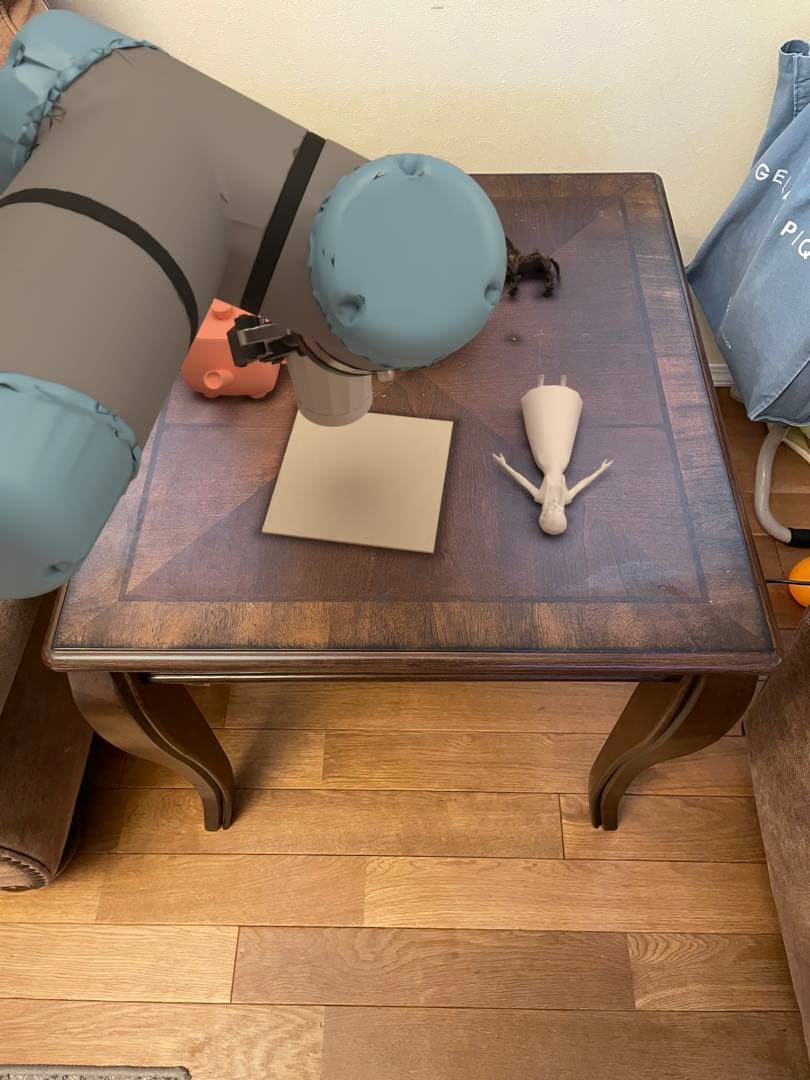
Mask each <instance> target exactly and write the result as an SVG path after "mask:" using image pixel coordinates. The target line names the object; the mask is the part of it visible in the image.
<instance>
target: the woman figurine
mask: <svg viewBox="0 0 810 1080" xmlns="http://www.w3.org/2000/svg"><path fill="white" fill-rule="evenodd" d="M544 380H545V374H542V373H541V374H538V376H537V383H536V385H537V386H536V387H534V388H532V389H529V390H528V391H527V392H526V394H524V395H523V396H522V397H521V399H520V404H521V410H522V414H523V421H524V427H525V432H526V436H527V439H528V442H529V445H530V449H531V454H532V457H533V460H534V461H535V463H536V465H537V467H538V468H539V469H540V470H541V471H542V473H543V474H544V477H543V481H542V482H541V486H540V487H539V488H538V487H536V486H534V485H533V484H532V483H531V482H530V481H529V480H528V479H526V478H525V476H523V475H521V474H520V473H519V472H516V471H515V470H514V469H513V468H512V467H510V466H509V465H508V464H507V463H506V459H505V457H504V455H502V453H499V456H500V457H499V456H497V455H496V454H495V453H494V452H493V453H492V454H491V456H492V457H493V459H494V460H495V461H496V462H497V463H498V464H499V465H500V466H502V468H503V469H505V471H507V473H508V474H510V475H511V476H512V477H513V478H514V480H516V481H517V483H519V484H520V485H522V486H523V487H524V488H525V489H526V490H527V491H528V492H529V493H530V494H531V495H532V496H533V498H534V499H533V500H534V502H535V503H536V502H537V503H539V504H541V505H542V506H541V513H540V516H539V518H538V524H539V526H540V528H541V529H542V531H543V532H545V533H547V534H550V535H553V536H554V535H559V534H562V533H564V532H565V530H566V529H567V526H568V525H567V524H568V523H567V521H568V520H567V518H566V515H565V506H566V505H569V504H571V503H572V502H573V500H572V499H574V497H575V496H576V495H577V493H579V492H580V491H581V490H582V489H583V488H585V487H586V486H588V485H589V484H590V483H591V482H592V481H593V480H595V479H596V478H597V477H599V476H600V475H601V474H602V473H604V471H606V470H607V469H609V467H610V466H611V465H612V464H613V463H614V460H613V459H612V460H610V461H609V462H607V461H608V459H607V458H606V459H605V460H604V461H603V462H602V463H601V465H600V468H599V469H597V470H596V471H595V472H594V473H592V474H591V475H589V476H587V477H585V478H583V479H581V480H580V481H579V482H577V484H576V485H575V486H573V487H572V488H570V489H569V490H568V487H567V484H566V477H565V474H564V471H566V470H567V468H568V466H569V463H570V459H571V455H572V452H573V446H574V443H575V438H576V436H577V435H576V434H577V432H578V431H577V430H578V427H579V426H578V425H579V422H580V418H581V412H582V409H583V404H584V403H583V400H582V398H581V396H580V394H579V392H578V391H576V390H574V389H572V388H570V387H568V386H567V375H560V378H559V385H555V384H554V385H553V384H552V385H544V382H545V381H544ZM606 462H607V463H606Z"/></svg>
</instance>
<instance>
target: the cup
mask: <svg viewBox="0 0 810 1080" xmlns="http://www.w3.org/2000/svg"><path fill="white" fill-rule="evenodd" d="M285 358H286V362H287V364H286V366H287V369H288V372H289V373H288V374H289V376H290V381H291V383H292V387H293V390H294V393H295V399H296V405H297V408H298V409H299V411H300V412H301V414H302V415H303V416H304V417H305V418H306V419H307V420H309V421H311V422H312V423H315V424H317V425H321V426H326V427H340V426H345V425H348V424H351V423H354V422H356V421H357V420H359V419H360V418H362V417H363V416H364V415H365V414H366V413H369V411H370V409H371V406H372V404H373V384H372V381H373V380H372V379H373V378H372V377H373V375H368V376H362V377H346V376H340V375H336V374H333V373H330V372H328V371H326V370H324V369H322V368H321V367H319V366H318V365H316V364H315V363H314V362H312V361H311V360H310V359H309V358H308V357H307V356H303V357H300V356H299V355H298V353H297V352H295V353H292V354H289V355H285ZM298 409H297V410H298Z"/></svg>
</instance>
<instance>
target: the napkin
mask: <svg viewBox="0 0 810 1080" xmlns="http://www.w3.org/2000/svg"><path fill="white" fill-rule="evenodd" d="M453 426H454V421H451V420H440V419H431V418H422V417H412V416H404V415H403V416H402V415H395V414H394V415H393V414H384V413H374V412H367V413H366V414H365V415H364V416H363V417H362V418H360V419H359V420H357V421H356V422H354V423H351V424H348V425H345V426H340V427H326V426H321V425H317V424H315V423H312V422H311V421H309V420H307V419H306V418H305V417H304V416H303V415H302V414H301V412H300V411H299V409H297V412H296V415H295V419H294V423H293V426H292V429H291V431H290V435H289V440H288V443H287V446H286V449H285V453H284V455H283V459H282V462H281V467H280V469H279V473H278V475H277V478H276V479H277V480H276V481H275V482H276V483H275V486H274V490H273V492H272V496H271V500H270V502H269V503H270V504H269V506H268V510H267V514H266V516H265V520H264V523H263V526H262V529H261V533H262V534H267V535H273V536H274V535H277V536H284V537H291V538H299V539H308V540H315V541H323V542H334V543H341V544H348V545H349V544H350V545H358V546H365V547H375V548H383V549H390V550H398V551H407V552H414V553H422V554H432V555H433V554H434V550H435V545H436V537H437V531H438V524H439V519H440V513H441V512H440V511H441V505H442V500H443V499H442V498H443V492H444V486H445V485H444V484H445V479H446V472H447V467H448V466H447V465H448V459H449V453H450V446H451V439H452V434H453V433H452V432H453Z"/></svg>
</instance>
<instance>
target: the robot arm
mask: <svg viewBox="0 0 810 1080" xmlns="http://www.w3.org/2000/svg"><path fill="white" fill-rule="evenodd" d="M5 59H6V60H5V62H4V64H3V66H2V67H0V600H5V601H6V600H7V601H9V600H22V599H29V598H30V599H31V598H34V597H37V596H42V595H45V594H47V593H50V592H53V591H55V590H56V589H58V588H60V587H61V586H63V585H65V584H67V583H68V582H69V581H70V580H71V579H72V578H73V577H74V576H75V575H76V574H77V573H78V572H79V570H80V569H81V567H82V566H83V565H84V563H85V562H86V560H87V558H88V557H89V555H90V553H91V551H92V549H93V548H94V546H95V545H96V543H97V541H98V539H99V537H100V536H101V534H102V532H103V531H104V529H105V526H106V525H107V524H108V521H109V519H110V518H111V516H112V514H113V513H114V511H115V509H116V507H117V506H118V503H119V502H120V500H121V498H122V497H124V495H126V493H127V491H128V488H129V486H130V484H131V483H132V482H133V481H134V480H135V479H137V477H138V475H139V473H140V469H141V465H142V459H143V458H142V456H143V452H144V450H145V447H146V445H147V443H148V440H149V437H150V435H151V433H152V431H153V429H154V427H155V424H156V422H157V420H158V418H159V416H160V413H161V411H162V410H163V407H164V405H165V403H166V400H167V398H168V396H169V394H170V392H171V390H172V388H173V386H174V383H175V381H176V379H177V376H178V374H179V373H180V371H181V366H182V364H183V362H184V360H185V358H186V356H187V355H188V353H189V349H190V347H191V345H192V343H193V341H194V340H195V338H196V336H197V334H198V332H199V329H200V327H201V325H202V323H203V321H204V319H205V317H206V315H207V313H208V311H209V309H210V307H211V305H212V302H213V300H214V298H215V299H218V300H220V301H222V302H225V303H227V304H230V305H232V306H234V307H237V308H239V309H242V310H244V311H246V312H248V313H251V314H253V315H247V314H242V315H239V317H238V318H235V319H234V322H235V325H234V326H233V327H232V328H231V329H230V330H229V331H228V332H227V333H226V334H227V338H228V342H229V346H230V350H231V354H232V358H233V362H234V366H235V367H240V368H242V367H247V365H248V364H251V363H253V362H255V361H257V360H259V362H264V363H267V362H271V363H272V365H274V364H278V363H280V364H281V362H282V361H283V360H284V359H285V357H284V356H285V355H289V354H292V353H295V352H297V353H298V355H299V356H300V357H303V356H307V357H308V358H309V359H310V360H311V361H312V362H314V363H315V364H316V365H318V366H319V367H321V368H322V369H324V370H326V371H328V372H330V373H333V374H336V375H340V376H346V377H362V376H368V375H372V376H373V375H374V376H375V379H376V381H377V383H379V384H380V385H381V384H382V385H384V384H385V385H386V384H391V383H392V382H394V380H395V378H396V376H395V371H394V370H397V369H400V371H401V372H405V371H410V370H422V369H425V368H430V367H431V366H434V365H436V364H437V363H438V362H439V361H440V360H441V361H442V360H445V359H447V358H448V357H449V356H450V355H451V354H454V353H455V352H457V351H459V350H460V349H462V348H463V347H464V346H465V345H466V344H467V343H469V342H470V341H471V340H473V338H475V336H477V335H478V333H480V332H481V331H482V329H483V328H484V327H485V326H486V324H487V323H488V321H489V320H490V318H491V317H492V315H493V314H494V312H495V310H496V308H497V306H498V305H499V304H500V300H501V296H502V293H503V291H504V290H503V289H504V286H505V281H506V277H505V276H506V270H507V249H506V241H505V237H506V234H505V232H504V228H503V225H502V222H501V219H500V217H499V214H498V212H497V209H496V208H495V206H494V204H493V202H492V201H491V199H490V197H489V196H488V195H487V193H486V192H485V190H484V189H483V187H481V185H479V183H478V182H477V181H476V180H475V179H473V178H472V176H470V175H469V174H468V173H466V172H465V171H464V170H462V169H461V168H460V167H458V166H457V165H455V164H453V163H451V162H450V161H448V160H445V159H442V158H439V157H437V156H433V155H430V154H424V153H411V152H404V153H395V154H387V155H383V156H381V157H378V158H375V159H372V160H371V159H369V158H367V157H365V156H363V155H362V154H359V153H357V152H355V151H354V150H352V149H350V148H348V147H346V146H344V145H342V144H341V143H338V142H336V141H334V140H332V139H330V138H327V139H326V138H325V137H322V136H321V135H319V134H317V133H315V132H313V131H310V130H309V129H308V128H306V127H304V126H303V125H300V124H299V123H297V122H295V121H293V120H291V119H290V118H287V117H286V116H284V115H282V114H280V113H278V112H276V111H274V110H273V109H271V108H269V107H267V106H265V105H263V104H261V103H260V102H258V101H256V100H254V99H252V98H250V97H248V96H247V95H244V94H243V93H241V92H239V91H238V90H235V89H234V88H232V87H230V86H228V85H226V84H225V83H222V82H220V81H218V80H217V79H216V78H213V77H211V76H210V75H208V74H205V73H204V72H202V71H200V70H198V69H197V68H195V67H192V66H191V65H189V64H187V63H185V62H183V61H181V60H180V59H178V58H176V57H174V56H172V55H170V54H169V53H168V52H167V51H165V50H164V49H163V48H162V47H161V46H158V45H155V44H153V43H152V42H150V41H148V40H146V39H141V40H139V39H138V40H137V39H136V38H134V37H131V36H128V35H127V34H124V33H121V32H120V31H117V30H115V29H112V28H111V27H108V26H106V25H104V24H102V23H100V22H98V21H95V20H93V19H91V18H88V17H86V16H85V15H81V14H79V13H77V12H74V11H71V10H68V9H58V8H57V9H56V8H55V9H48V10H46V11H42V12H39V13H37V14H35V15H33V16H32V17H31V18H30V19H29V20H27V21H26V22H25V23H24V24H23V25H22V26H21V27H20V28H19V30H18V31H17V32H16V34H15V35H14V36H13V38H12V40H11V42H10V44H9V47H8V51H7V56H6V58H5ZM258 314H259V315H258ZM254 315H255V316H254ZM265 319H267V320H269V321H268V322H266V320H265Z"/></svg>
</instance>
